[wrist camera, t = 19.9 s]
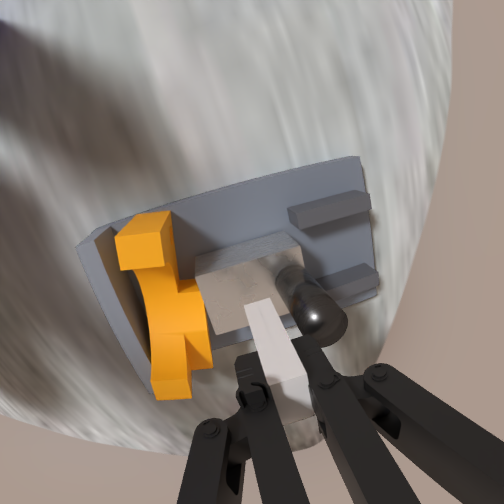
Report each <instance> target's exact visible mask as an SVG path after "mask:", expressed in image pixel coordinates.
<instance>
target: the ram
mask: <svg viewBox="0 0 504 504" xmlns="http://www.w3.org/2000/svg"><path fill="white" fill-rule="evenodd" d="M195 279H196V282H197V285H198V288H199V290H200V293H201V296H202V299H203V302H204V304H205V307H206V310H207V312H208V315H209V318H210V320H211V323H212V326H213V328H214V331H215V334H216V335H219V334H223V333H226V332H229V331H233V330H236V329H240V328H243V327H246V326H250V325H249V322H248V319H247V315H246V312H245V309H244V305H247V304H250V303H254V302H257V301H260V300H264V299H267V298H270V299H271V302H272V304H273V306H274V308H275V310H276V312H277V314H278V316H282V315H285V314H288V313H290V314H291V316H292V318H293V319H294V321H295V323H296V325H297V326H298V328H299V330H300V331H301V333H302V335H303V336H304V335H307V334H308V335H309V336H311V337H313V338H315V340H316V341H317V343H318V344H319V346H320V348H323V347H327V346H330V345H332V344H334V343H335V342H337V341H338V340H339V339H340V338H341V337H342V336H343V335H344V333H345V331H346V329H347V325H348V319H347V315H346V314H345V312H344V311H343V310H342V309H341V308H340V307H339V306H338V304H337V303H336V302H335V301H334V300H333V299H332V298H331V297H330V296H329V294H328V293H327V292H326V291H325V290H324V289H323V288H322V287H321V285H320V284H319V283H318V282H317V281H316V280H315V279H314V278H313V277H312V276H311V274H310V273H309V272H308V271H307V270H306V269H305V267H304V262H303V257H302V252H301V247H300V245H299V244H298V243H297V242H296V241H295V240H294V239H293V238H291V237H290V236H289V235H288V234H287V233H286V232H285V231H281V232H277V233H274V234H270V235H267V236H264V237H260V238H257V239H253V240H250V241H247V242H243V243H240V244H236V245H233V246H230V247H226V248H223V249H220V250H216V251H213V252H209V253H206V254H203V255H199V256H196V257H195Z"/></svg>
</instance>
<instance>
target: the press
mask: <svg viewBox="0 0 504 504" xmlns="http://www.w3.org/2000/svg"><path fill="white" fill-rule="evenodd" d="M370 209H372V207H371V200H370V194H369V193H366V191H365V185H364V179H363V173H362V167H361V162H360V156H349V157H344V158H339V159H334V160H330V161H325V162H321V163H316V164H312V165H308V166H303V167H299V168H295V169H291V170H287V171H282V172H278V173H274V174H271V175H267V176H263V177H259V178H255V179H251V180H248V181H244V182H240V183H237V184H233V185H229V186H226V187H222V188H219V189H215V190H212V191H208V192H205V193H202V194H198V195H195V196H192V197H188V198H185V199H182V200H179V201H175V202H172V203H169V204H166V205H163V206H160V207H157V208H154V209H151V210H148V211H145V212H142V213H139V214H143V213H152V212H160V211H169V210H171V219H172V228H173V236H174V244H175V251H176V259H177V266H178V273H179V279H180V280H187V279H195V257H196V256H199V255H203V254H206V253H209V252H213V251H216V250H220V249H223V248H226V247H230V246H233V245H236V244H240V243H243V242H247V241H250V240H253V239H257V238H260V237H264V236H267V235H270V234H274V233H277V232H281V231H285V232H286V233H287V234H288V235H289V236H290V237H291V238H293V239H294V240H295V241H296V242H297V243H298V244H299V245H300V247H301V252H302V257H303V262H304V267H305V269H306V270H307V271H308V272H309V273H310V274H311V276H312V277H313V278H314V279H315V280H316V281H317V282H318V283H319V284H320V285H321V287H322V288H323V289H324V290H325V291H326V292H327V293H328V294H329V296H330V297H331V298H332V299H333V300H334V301H335V302H336V303H337V304H338V306H339V307H340V308H341V309H342V308H345V307H347V306H350V305H352V304H355V303H358V302H360V301H363V300H365V299H368V298H371V297H373V296H376V295H377V294H376V286H378V285H379V274H378V272H377V271H376V270H375V266H374V255H373V245H372V236H371V227H370V219H369V212H368V210H370ZM136 215H137V214H136ZM136 215H133V216H130V217H127V218H124V219H121V220H118V221H116V222H113V223H110V224H107V225H104V226H102V227H99V228H97V229H95V230H94V231H93V232H91V234H90V235H89V236H88V237H87V238H85V239H84V240H83V241H82V242H81V243H79V244H78V245H77V246H76V247H75V248H76V251H77V253H78V256H79V258H80V261H81V263H82V266H83V268H84V270H85V273H86V275H87V277H88V280H89V282H90V284H91V286H92V289H93V291H94V293H95V295H96V297H97V300H98V302H99V304H100V306H101V308H102V310H103V312H104V314H105V316H106V318H107V320H108V322H109V324H110V326H111V328H112V330H113V332H114V334H115V336H116V338H117V339H118V341H119V343H120V345H121V347H122V349H123V350H124V352H125V354H126V356H127V358H128V359H129V361H130V363H131V365H132V366H133V368H134V370H135V371H136V373H137V375H138V376H139V378H140V380H141V381H142V383H143V385H144V386H145V388H146V389H147V391H148V392H149V394H153V393H154V391H153V388H152V385H151V382H150V379H151V344H150V333H149V325H148V318H147V312H146V307H145V302H144V298H143V294H142V290H141V287H140V284H139V281H138V279H137V276H136V274H135V273H134V271H133V270H122V271H121V270H120V265H119V260H118V255H117V249H116V244H115V238H114V237H115V236H116V235H117V234H118V233H119V232H120V231H121V230H122V229H123V228H124V227H125V226H126V225H127V224H128V223H129V222H130V221H131V220H132V219H133V218H134V217H135V216H136ZM206 314H207V322H208V328H209V335H210V342H211V350H215V349H218V348H222V347H225V346H229V345H232V344H236V343H239V342H243V341H246V340H249V339H253V335H252V332H251V329H250V326H246V327H243V328H240V329H236V330H233V331H229V332H226V333H223V334H219V335H216V334H215V331H214V328H213V326H212V323H211V320H210V318H209V315H208V312H207V310H206ZM279 318H280V320H281V322H282V324H283V326H284V328H288V327H291V326H294V325H296V323H295V321H294V319H293V318H292V316H291V314H290V313H288V314H285V315H282V316H279Z"/></svg>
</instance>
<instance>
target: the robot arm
mask: <svg viewBox="0 0 504 504" xmlns="http://www.w3.org/2000/svg"><path fill="white" fill-rule="evenodd" d="M244 309H245V312H246V315H247V319H248V322H249V325H250V329H251V332H252V335H253V338H254V342H255V345H256V348H257V351H256V352H252V353H249V354H245V355H242V356H238V357H237V359H236V362H235V364H234V365H235V370H236V375H237V380H238V385H239V388H238V390H237V391H236V398H237V401H238V403H239V405H240V409H239V411H238V412H237V413H236V414H235V415H233V416H232V417H230V418H228V419H226V420H224V421H223V420H221V419H217V418H211V419H207V420H205V421H203V422H201V423H200V424H199V425H198V426H197V428H196V430H195V432H194V436H193V440H192V444H191V448H190V452H189V456H188V460H187V464H186V468H185V472H184V476H183V480H182V484H181V488H180V492H179V497H178V500H177V504H241V501H242V491H243V483H244V473H245V464H246V463H245V462H246V460H248V459H250V458H252V461H253V465H254V469H255V474H256V478H257V483H258V487H259V491H260V495H261V499H262V503H263V504H310V503H309V500H308V497H307V494H306V492H305V489H304V486H303V483H302V480H301V478H300V474H299V472H298V469H297V466H296V463H295V460H294V457H293V454H292V451H291V449H290V446H289V443H288V440H287V437H286V434H285V431H284V428H283V426H284V425H287V424H290V423H293V422H296V421H300V420H303V419H306V418H308V417H311V416H314V415H315V414H316V416H317V420H318V426H319V432H320V434H321V433H322V434H323V436H324V438H325V441H326V443H327V445H328V447H329V449H330V452H331V454H332V456H333V459H334V461H335V463H336V465H337V467H338V470H339V472H340V474H341V476H342V478H343V481H344V483H345V485H346V487H347V489H348V492H349V494H350V496H351V498H352V500H353V503H354V504H421V503H420V501H419V500H418V498H417V496H416V495H415V493H414V492H413V490H412V488H411V486H410V485H409V483H408V481H407V480H406V478H405V476H404V475H403V473H402V472H401V470H400V468H399V467H398V465H397V463H396V462H395V460H394V458H393V457H392V455H391V454H390V452H389V450H388V449H387V447H386V445H385V444H384V442H383V441H382V439H381V438H380V436H379V434H378V432H379V433H380V434H381V435H382V436H383V437H384V438H386V439H387V440H388V441H389V442H390V443H391V444H392V445H393V446H395V447H396V448H397V449H398V450H399V451H400V452H401V453H403V454H404V455H405V456H406V457H407V458H408V459H410V460H411V461H412V462H413V463H414V464H415V465H416V466H418V467H419V468H420V469H421V470H422V471H424V472H425V473H426V474H427V475H428V476H429V477H431V478H432V479H433V480H434V481H435V482H437V483H438V484H439V485H440V486H441V487H443V488H444V489H445V490H446V491H448V492H449V493H450V494H451V495H453V496H454V497H455V498H456V499H458V500H459V501H460V502H461V503H463V504H504V442H503V441H501V440H500V439H499V438H497V437H496V436H494V435H492V434H491V433H489V432H488V431H486V430H485V429H483V428H482V427H480V426H479V425H477V424H476V423H474V422H473V421H471V420H470V419H468V418H467V417H466V416H464V415H463V414H461V413H459V412H458V411H457V410H455V409H454V408H452V407H451V406H449V405H448V404H446V403H445V402H443V401H442V400H440V399H439V398H437V397H436V396H434V395H433V394H432V393H430V392H429V391H427V390H426V389H424V388H423V387H421V386H420V385H418V384H417V383H415V382H414V381H412V380H411V379H410V378H408V377H407V376H405V375H404V374H402V373H401V372H399V371H398V370H396V369H395V368H394V367H392V366H390V365H388V364H384V363H379V364H374V365H372V366H370V367H368V368H367V369H366V370H365V372H364V375H359V376H350V377H348V376H343V375H341V374H340V373H338V372H336V371H335V370H334V369H333V367H332V366H331V364H330V362H329V361H328V359H327V357H326V356H325V354H324V352H323V351H322V349H321V348H320V346H319V344H318V343H317V341H316V340H315V338H313V337H311V336H309V335H308V334H307V335H304V336H301V337H298V338H295V339H292V340H290V338H289V336H288V334H287V332H286V330H285V328H284V326H283V324H282V322H281V320H280V318H279V316H278V314H277V312H276V310H275V308H274V306H273V304H272V302H271V299H270V298H267V299H264V300H260V301H257V302H254V303H250V304H247V305H244ZM314 412H315V414H314ZM376 430H377V431H378V432H377V431H376Z"/></svg>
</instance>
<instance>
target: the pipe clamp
mask: <svg viewBox="0 0 504 504" xmlns="http://www.w3.org/2000/svg"><path fill="white" fill-rule="evenodd" d="M114 238H115V244H116V249H117V255H118V260H119V265H120V270H121V271H122V270H133V271H134V273H135V274H136V276H137V279H138V281H139V284H140V287H141V290H142V294H143V298H144V302H145V307H146V312H147V318H148V325H149V333H150V344H151V379H150V382H151V385H152V388H153V391H154V394H155V397H156V400H175V399H189V398H192V374H191V370H199V369H209V368H213V360H212V350H211V342H210V335H209V328H208V322H207V314H206V307H205V304H204V302H203V299H202V296H201V293H200V290H199V288H198V285H197V282H196V279H187V280H180V279H179V273H178V266H177V259H176V251H175V244H174V236H173V228H172V219H171V210H169V211H160V212H152V213H143V214H137V215H136V216H135V217H134V218H133V219H132V220H131V221H130V222H129V223H128V224H127V225H126V226H125V227H124V228H123V229H122V230H121V231H120V232H119V233H118V234H117V235H116V236H115V237H114Z"/></svg>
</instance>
